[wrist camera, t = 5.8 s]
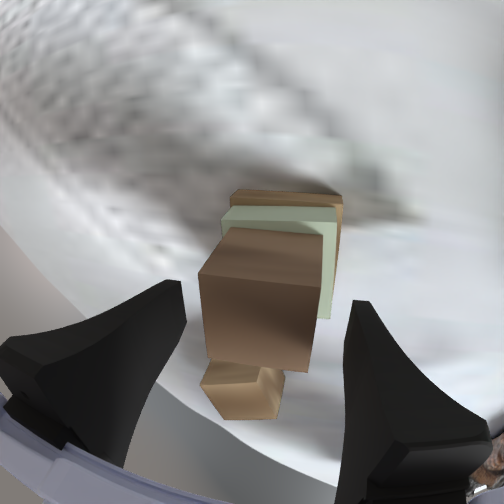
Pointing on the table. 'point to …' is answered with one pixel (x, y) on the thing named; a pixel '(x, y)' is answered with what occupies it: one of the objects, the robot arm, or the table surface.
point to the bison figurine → (489, 469)
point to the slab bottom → (291, 204)
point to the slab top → (298, 222)
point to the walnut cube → (262, 298)
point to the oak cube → (243, 390)
